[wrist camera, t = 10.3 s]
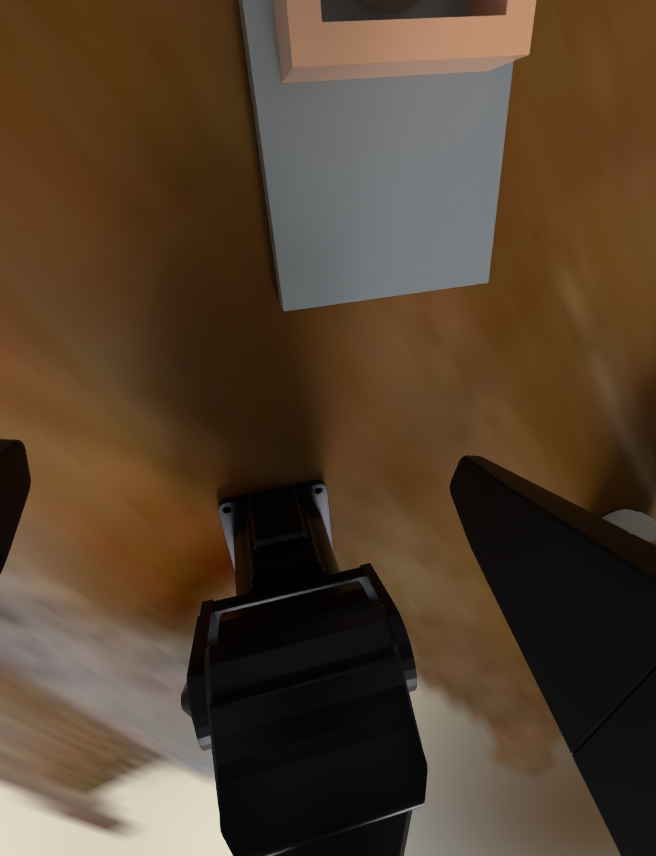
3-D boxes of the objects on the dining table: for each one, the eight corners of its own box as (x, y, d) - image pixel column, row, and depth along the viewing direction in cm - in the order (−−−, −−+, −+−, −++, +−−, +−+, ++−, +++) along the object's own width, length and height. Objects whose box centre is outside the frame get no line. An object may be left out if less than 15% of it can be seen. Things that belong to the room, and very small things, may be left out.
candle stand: (472, 276, 22) (519, 294, 18) (279, 303, 20) (292, 327, 17) (521, -245, 14) (622, -384, 10) (202, -265, 12) (197, -436, 9)
